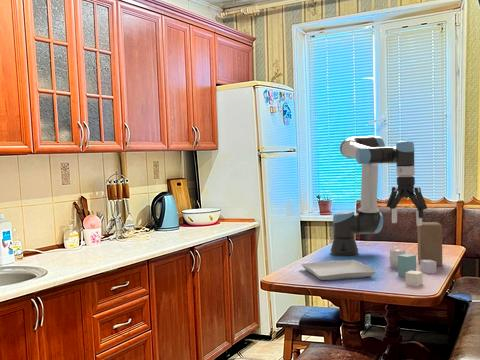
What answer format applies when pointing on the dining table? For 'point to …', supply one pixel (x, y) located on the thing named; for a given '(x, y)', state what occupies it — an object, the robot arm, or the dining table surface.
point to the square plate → (339, 269)
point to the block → (430, 242)
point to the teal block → (406, 264)
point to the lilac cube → (428, 266)
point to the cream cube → (414, 278)
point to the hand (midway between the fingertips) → (406, 224)
